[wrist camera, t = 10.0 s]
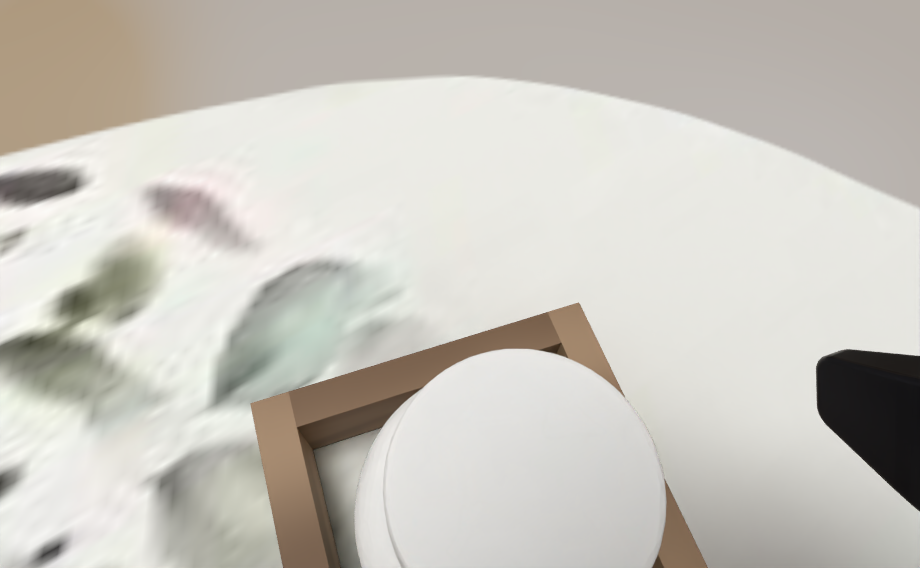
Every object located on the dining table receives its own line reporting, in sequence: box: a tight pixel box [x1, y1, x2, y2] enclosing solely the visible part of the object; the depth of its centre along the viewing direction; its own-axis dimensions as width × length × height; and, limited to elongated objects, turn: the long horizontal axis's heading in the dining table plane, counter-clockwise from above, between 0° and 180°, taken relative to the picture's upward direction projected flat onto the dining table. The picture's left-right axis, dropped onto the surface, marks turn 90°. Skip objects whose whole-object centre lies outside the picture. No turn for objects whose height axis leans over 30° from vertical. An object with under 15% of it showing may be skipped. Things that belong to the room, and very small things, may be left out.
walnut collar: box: [250, 303, 708, 568], centre depth 16 cm, size 10×10×2 cm
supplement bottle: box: [355, 349, 667, 568], centre depth 13 cm, size 5×5×10 cm
